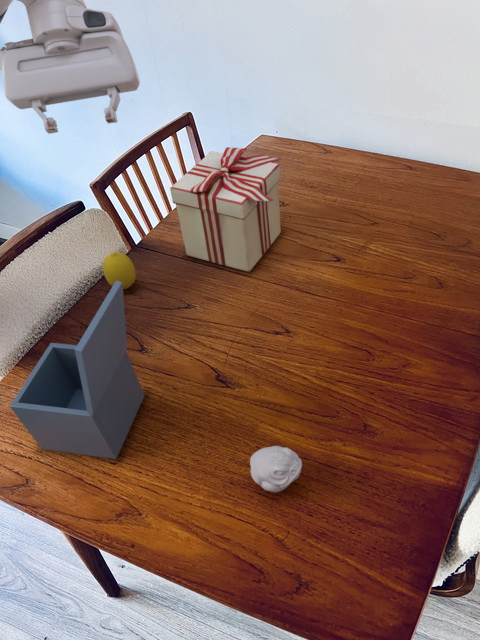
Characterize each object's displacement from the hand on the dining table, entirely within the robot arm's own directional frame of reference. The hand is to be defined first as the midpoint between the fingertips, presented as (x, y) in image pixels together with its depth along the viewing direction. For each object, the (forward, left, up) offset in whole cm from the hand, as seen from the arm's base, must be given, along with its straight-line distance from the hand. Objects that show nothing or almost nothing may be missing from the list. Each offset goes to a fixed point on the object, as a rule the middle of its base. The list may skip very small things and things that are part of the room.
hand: (82, 126), depth 81 cm
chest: (+8, -36, -27) cm, 46 cm away
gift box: (+20, +10, -28) cm, 36 cm away
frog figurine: (+37, -42, -28) cm, 63 cm away
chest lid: (+15, -36, -11) cm, 41 cm away
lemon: (+1, -6, -28) cm, 28 cm away
